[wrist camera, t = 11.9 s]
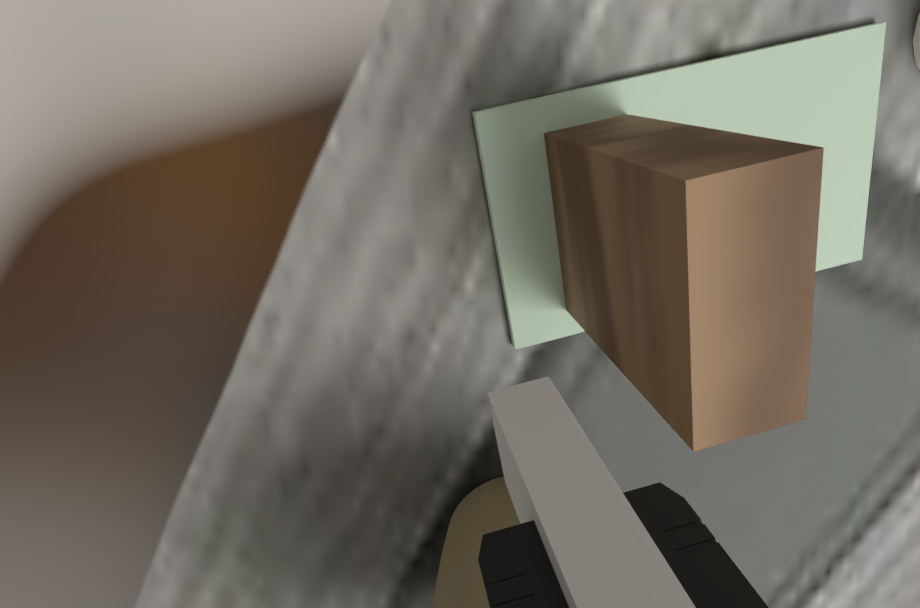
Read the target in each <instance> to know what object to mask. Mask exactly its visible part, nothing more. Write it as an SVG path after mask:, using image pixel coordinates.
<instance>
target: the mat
mask: <svg viewBox="0 0 920 608" xmlns="http://www.w3.org/2000/svg"><path fill="white" fill-rule="evenodd" d="M885 30H886V22H881V23H873V24H869V25H864V26H860V27H855V28H850V29H846V30H841V31H837V32H832V33H828V34H823V35H819V36H814V37H810V38H805V39H801V40H796V41H792V42H787V43H782V44H778V45H773V46H769V47H764V48H760V49H755V50H751V51H746V52H742V53H737V54H733V55H728V56H723V57H719V58H714V59H710V60H705V61H701V62H696V63H692V64H687V65H683V66H678V67H674V68H669V69H665V70H660V71H655V72H651V73H646V74H642V75H637V76H633V77H628V78H624V79H619V80H615V81H610V82H606V83H601V84H596V85H592V86H587V87H583V88H578V89H574V90H569V91H565V92H560V93H556V94H551V95H547V96H542V97H538V98H533V99H528V100H524V101H519V102H515V103H510V104H506V105H501V106H497V107H492V108H488V109H483V110H479V111H474V112H472V114H473V120H474V126H475V132H476V137H477V143H478V149H479V155H480V160H481V166H482V172H483V178H484V183H485V189H486V195H487V201H488V207H489V212H490V218H491V224H492V230H493V235H494V241H495V247H496V253H497V258H498V264H499V270H500V276H501V282H502V287H503V293H504V299H505V305H506V310H507V316H508V322H509V328H510V333H511V339H512V345H513V346H514V348H515V350H516V349H520V348H524V347H528V346H532V345H536V344H539V343H543V342H547V341H551V340H555V339H559V338H562V337H566V336H570V335H574V334H578V333H582V332H585V331H584V329H583V328H582V327H581V326H580V325H579V324H578V323H577V322H576V321H575V319H574V318H573V317H572V316H571V315H570V314H569V313H568V312H567V311H566V305H565V297H564V289H563V281H562V273H561V265H560V257H559V250H558V242H557V234H556V226H555V218H554V210H553V202H552V194H551V186H550V178H549V171H548V163H547V155H546V147H545V139H544V133H546V132H551V131H555V130H560V129H564V128H568V127H573V126H577V125H582V124H586V123H590V122H595V121H599V120H604V119H608V118H612V117H617V116H621V115H626V114H628V115H634V116H640V117H646V118H652V119H658V120H664V121H670V122H676V123H682V124H688V125H694V126H699V127H705V128H711V129H717V130H723V131H729V132H735V133H741V134H747V135H753V136H759V137H765V138H770V139H776V140H782V141H788V142H794V143H800V144H806V145H812V146H818V147H824V152H823V166H822V181H821V196H820V211H819V225H818V240H817V255H816V270H815V272H816V271H819V270H823V269H827V268H831V267H835V266H839V265H842V264H846V263H850V262H854V261H858V260H862V254H863V244H864V234H865V225H866V215H867V205H868V195H869V186H870V176H871V166H872V156H873V147H874V137H875V127H876V117H877V108H878V98H879V88H880V78H881V69H882V59H883V49H884V39H885Z"/></svg>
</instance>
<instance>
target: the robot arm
mask: <svg viewBox="0 0 920 608" xmlns="http://www.w3.org/2000/svg"><path fill="white" fill-rule="evenodd" d="M487 395H488V400H489V405H490V410H491V415H492V420H493V425H494V430H495V435H496V439H497V444H498V449H499V454H500V459H501V464H502V469H503V474H504V479H505V483H506V486H507V489H508V492H509V494H510V497H511V500H512V502H513V505H514V508H515V510H516V513H517V516H518V518H519V521H520V524H518V525H515V526H511V527H508V528H504V529H501V530H497V531H494V532H490V533H487V534H483V537H482V542H481V547H480V552H479V557H478V562H479V566H480V570H481V574H482V578H483V582H484V586H485V591H486V595H487V599H488V603H489V607H490V608H768V606H767V605H766V604H765V602H764V601H763V600H762V599H761V597H760V596H759V595H758V593H757V592H756V591H755V589H754V588H753V587H752V586H751V584H750V583H749V582H748V580H747V579H746V578H745V576H744V575H743V574H742V573H741V571H740V570H739V569H738V567H737V566H736V565H735V563H734V562H733V561H732V560H731V558H730V557H729V556H728V554H727V553H726V552H725V550H724V549H723V548H722V547H721V545H720V544H719V543H717V542H716V540H715V537H714V536H713V535H712V534H711V532H710V531H709V530H708V528H707V527H706V526H705V524H702V522H701V519H700V518H699V517H698V515H697V514H696V513H695V511H694V510H693V509H692V508H691V506H690V505H689V504H688V502H687V501H686V500H685V498H683V497H682V496H680V495H679V494H677V493H676V492H674V491H672V490H671V489H669V488H668V487H666V486H665V485H663V484H662V483H656V484H653V485H649V486H646V487H642V488H639V489H635V490H632V491H628V492H625V493H623V492H622V491H621V489H620V488H619V486H618V484H617V483H616V481H615V480H614V478H613V477H612V475H611V473H610V472H609V470H608V469H607V467H606V466H605V464H604V462H603V461H602V459H601V458H600V456H599V455H598V453H597V451H596V450H595V448H594V447H593V445H592V444H591V442H590V440H589V439H588V437H587V436H586V434H585V433H584V431H583V429H582V428H581V426H580V425H579V423H578V422H577V420H576V418H575V417H574V415H573V414H572V412H571V411H570V409H569V407H568V406H567V404H566V403H565V401H564V400H563V398H562V396H561V395H560V393H559V392H558V390H557V389H556V387H555V385H554V384H553V382H552V381H551V379H550V378H549V376H548V377H544V378H540V379H537V380H533V381H529V382H525V383H521V384H518V385H514V386H510V387H506V388H502V389H499V390H495V391H491V392H487Z"/></svg>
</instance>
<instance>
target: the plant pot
mask: <svg viewBox="0 0 920 608" xmlns="http://www.w3.org/2000/svg"><path fill="white" fill-rule="evenodd" d="M518 524H520V521H519V518H518V516H517V513H516V510H515V508H514V505H513V502H512V500H511V497H510V494H509V492H508V489H507V486H506V483H505V479H504V476H503V477H499V478H496V479H493V480H490V481H488V482H486V483H484V484H482V485H480V486H478V487H477V488H475V489H474V490H473V491H471V492H470V493H469V494H468V495H467V496H466V497H465V498H464V499H463V500H462V501H461V502H460V504H459V505H458V506H457V508H456V509H455V511H454V513H453V515H452V517H451V520H450V524H449V527H448V531H447V535H446V539H445V543H444V547H443V552H442V556H441V561H440V565H439V571H438V576H437V582H436V587H435V593H434V599H433V605H432V608H490V607H489V603H488V599H487V595H486V591H485V586H484V582H483V578H482V574H481V570H480V566H479V562H478V557H479V552H480V547H481V542H482V537H483V534H487V533H490V532H494V531H497V530H501V529H504V528H508V527H511V526H515V525H518Z"/></svg>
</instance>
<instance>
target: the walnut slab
mask: <svg viewBox="0 0 920 608" xmlns="http://www.w3.org/2000/svg"><path fill="white" fill-rule="evenodd" d="M544 139H545V147H546V155H547V163H548V171H549V178H550V186H551V194H552V202H553V210H554V218H555V226H556V234H557V242H558V250H559V257H560V265H561V273H562V281H563V289H564V297H565V305H566V311H567V312H568V313H569V314H570V315H571V316H572V317H573V318H574V319H575V321H576V322H577V323H578V324H579V325H580V326H581V327H582V328H583V329H584V331H585V332H586V333H587V334H588V335H589V336H590V337H591V338H592V339H593V341H594V342H595V343H596V344H597V345H598V346H599V347H600V348H601V349H602V351H603V352H604V353H605V354H606V355H607V356H608V357H609V358H610V359H611V361H612V362H613V363H614V364H615V365H616V366H617V367H618V368H619V369H620V371H621V372H622V373H623V374H624V375H625V376H626V377H627V378H628V379H629V381H630V382H631V383H632V384H633V385H634V386H635V387H636V388H637V389H638V391H639V392H640V393H641V394H642V395H643V396H644V397H645V398H646V399H647V400H648V402H649V403H650V404H651V405H652V406H653V407H654V408H655V409H656V410H657V412H658V413H659V414H660V415H661V416H662V417H663V418H664V419H665V420H666V422H667V423H668V424H669V425H670V426H671V427H672V428H673V429H674V430H675V432H676V433H677V434H678V435H679V436H680V437H681V438H682V439H683V440H684V442H685V443H686V444H687V445H688V446H689V447H690V448H691V449H692V450H693V452H694V451H697V450H701V449H704V448H708V447H711V446H715V445H718V444H722V443H725V442H729V441H732V440H736V439H739V438H743V437H746V436H750V435H753V434H757V433H760V432H764V431H767V430H771V429H774V428H778V427H781V426H785V425H788V424H792V423H795V422H799V421H802V420H805V417H806V403H807V388H808V373H809V358H810V344H811V329H812V314H813V299H814V285H815V270H816V255H817V240H818V225H819V211H820V196H821V181H822V166H823V152H824V147H818V146H812V145H806V144H800V143H794V142H788V141H782V140H776V139H770V138H765V137H759V136H753V135H747V134H741V133H735V132H729V131H723V130H717V129H711V128H705V127H699V126H694V125H688V124H682V123H676V122H670V121H664V120H658V119H652V118H646V117H640V116H634V115H628V114H626V115H621V116H617V117H612V118H608V119H604V120H599V121H595V122H590V123H586V124H582V125H577V126H573V127H568V128H564V129H560V130H555V131H551V132H546V133H544Z"/></svg>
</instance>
